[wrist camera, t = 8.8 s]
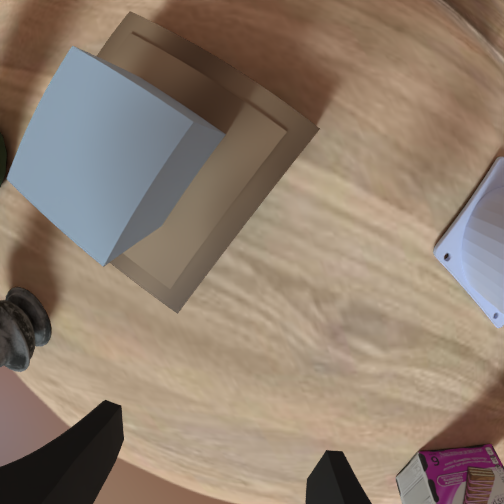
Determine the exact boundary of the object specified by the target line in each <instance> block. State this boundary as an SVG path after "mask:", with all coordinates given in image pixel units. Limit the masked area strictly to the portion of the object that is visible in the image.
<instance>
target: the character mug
mask: <svg viewBox="0 0 504 504" xmlns="http://www.w3.org/2000/svg"><path fill="white" fill-rule="evenodd" d="M6 159H7V152H6V148H5V144H4V139H3V135H2V134H1V132H0V187H1V184H2V181H3V179H4V176H5V174H6Z"/></svg>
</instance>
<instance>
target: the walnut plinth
mask: <svg viewBox="0 0 504 504" xmlns="http://www.w3.org/2000/svg"><path fill="white" fill-rule="evenodd" d="M97 57H99V58H101V59H103V60H105V61H108V62H110V63H112V64H114V65H116V66H118V67H120V68H122V69H124V70H126V71H128V72H130V73H132V74H134V75H136V76H138V77H140V78H142V79H143V80H145V81H147V82H148V83H150V84H151V85H153V86H155V87H156V88H158V89H159V90H161V91H162V92H164V93H165V94H167V95H169V96H170V97H172V98H173V99H175V100H176V101H178V102H179V103H181V104H182V105H184V106H185V107H187V108H188V109H190V110H191V111H193V112H194V113H196V114H197V115H199V116H200V117H201V118H203V119H204V120H206V121H207V122H209V123H210V124H212V125H213V126H214V127H216V128H217V129H219V130H220V131H222V132H223V133H224V134H226V135H225V136H224V138H223V139H222V140H221V142H220V143H219V144H218V146H217V147H216V148H215V150H214V151H213V152H212V154H211V155H210V157H209V158H208V159H207V161H206V162H205V163H204V165H203V166H202V168H201V169H200V170H199V172H198V173H197V175H196V176H195V177H194V179H193V180H192V182H191V183H190V185H189V186H188V188H187V189H186V190H185V192H184V193H183V195H182V196H181V198H180V199H179V201H178V202H177V204H176V205H175V207H174V208H173V210H172V211H171V213H170V214H169V216H168V217H167V219H166V220H165V222H164V223H163V225H162V226H161V227H160V228H158V229H157V230H155V231H154V232H152V233H151V234H149V235H148V236H146V237H145V238H143V239H142V240H140V241H139V242H138V243H136V244H135V245H133V246H132V247H130V248H129V249H127V250H126V251H125V252H123V253H122V254H120V255H119V256H118V257H116V258H115V259H113V260H112V261H111V262H110V263H111V264H112V265H113V266H115V267H116V268H117V269H119V270H120V271H121V272H122V273H124V274H125V275H126V276H127V277H129V278H130V279H131V280H133V281H134V282H135V283H137V284H138V285H139V286H141V287H142V288H143V289H145V290H146V291H147V292H149V293H150V294H151V295H153V296H154V297H155V298H157V299H158V300H159V301H161V302H162V303H163V304H165V305H166V306H168V307H169V308H170V309H172V310H173V311H175V312H176V313H177V314H178V312H179V311H180V310H181V308H182V307H183V306H184V304H185V303H186V302H187V300H188V299H189V298H190V296H191V295H192V294H193V292H194V291H195V290H196V288H197V287H198V286H199V284H200V283H201V282H202V280H203V279H204V278H205V276H206V275H207V274H208V272H209V271H210V270H211V268H212V267H213V266H214V264H215V263H216V262H217V260H218V259H219V258H220V256H221V255H222V254H223V252H224V251H225V250H226V249H227V247H228V246H229V245H230V243H231V242H232V241H233V239H234V238H235V237H236V235H237V234H238V233H239V232H240V230H241V229H242V228H243V226H244V225H245V224H246V222H247V221H248V220H249V218H250V217H251V216H252V215H253V213H254V212H255V211H256V209H257V208H258V207H259V206H260V204H261V203H262V202H263V200H264V199H265V198H266V197H267V195H268V194H269V193H270V191H271V190H272V189H273V188H274V186H275V185H276V184H277V182H278V181H279V180H280V179H281V177H282V176H283V175H284V173H285V172H286V171H287V170H288V168H289V167H290V166H291V165H292V163H293V162H294V161H295V160H296V158H297V157H298V156H299V154H300V153H301V152H302V151H303V149H304V148H305V147H306V146H307V144H308V143H309V142H310V141H311V139H312V138H313V137H314V136H315V134H316V133H317V132H318V131H319V129H320V128H318V127H317V126H316V125H315V124H313V123H312V122H311V121H309V120H308V119H307V118H305V117H304V116H303V115H301V114H300V113H299V112H297V111H296V110H295V109H293V108H292V107H291V106H289V105H288V104H287V103H285V102H284V101H282V100H281V99H280V98H278V97H277V96H275V95H274V94H273V93H271V92H270V91H268V90H267V89H265V88H264V87H262V86H261V85H259V84H258V83H257V82H255V81H254V80H252V79H251V78H249V77H247V76H246V75H244V74H243V73H241V72H240V71H238V70H237V69H235V68H233V67H232V66H230V65H229V64H227V63H225V62H224V61H222V60H221V59H219V58H217V57H216V56H214V55H212V54H211V53H209V52H207V51H205V50H204V49H202V48H200V47H199V46H197V45H195V44H193V43H191V42H190V41H188V40H186V39H184V38H182V37H181V36H179V35H177V34H175V33H173V32H171V31H169V30H167V29H165V28H163V27H162V26H160V25H158V24H156V23H154V22H152V21H150V20H147V19H145V18H143V17H141V16H139V15H137V14H135V13H133V12H129V13H128V14H127V16H126V17H125V18H124V19H123V21H122V22H121V23H120V24H119V26H118V27H117V28H116V30H115V31H114V32H113V34H112V35H111V36H110V38H109V39H108V41H107V42H106V43H105V45H104V46H103V48H102V49H101V51H100V52H99V53H98V55H97Z"/></svg>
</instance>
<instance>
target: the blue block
mask: <svg viewBox="0 0 504 504" xmlns="http://www.w3.org/2000/svg"><path fill="white" fill-rule="evenodd" d="M225 135H226V134H224V133H223V132H222V131H220V130H219V129H217V128H216V127H214V126H213V125H212V124H210V123H209V122H207V121H206V120H204V119H203V118H201V117H200V116H199V115H197V114H196V113H194V112H193V111H191V110H190V109H188V108H187V107H185V106H184V105H182V104H181V103H179V102H178V101H176V100H175V99H173V98H172V97H170V96H169V95H167V94H165V93H164V92H162V91H161V90H159V89H158V88H156V87H155V86H153V85H151V84H150V83H148V82H147V81H145V80H143V79H142V78H140V77H138V76H136V75H134V74H132V73H130V72H128V71H126V70H124V69H122V68H120V67H118V66H116V65H114V64H112V63H110V62H108V61H105V60H103V59H101V58H99V57H97V56H94V55H92V54H90V53H88V52H86V51H83V50H81V49H79V48H76V47H74V46H72V47H71V49H70V50H69V52H68V53H67V55H66V57H65V58H64V60H63V61H62V63H61V65H60V66H59V68H58V70H57V71H56V73H55V75H54V77H53V78H52V80H51V82H50V84H49V85H48V87H47V89H46V91H45V93H44V95H43V97H42V99H41V100H40V102H39V104H38V106H37V108H36V110H35V112H34V114H33V116H32V119H31V121H30V123H29V125H28V127H27V129H26V132H25V134H24V136H23V138H22V141H21V143H20V145H19V148H18V150H17V153H16V155H15V158H14V160H13V163H12V166H11V168H10V171H9V174H8V177H7V180H8V181H9V182H10V183H11V184H12V185H13V186H14V187H15V188H16V189H17V190H18V191H19V192H20V193H21V194H22V195H23V196H24V197H25V198H26V199H27V200H28V201H30V202H31V203H32V204H33V205H34V206H35V207H36V208H37V209H38V210H39V211H40V212H41V213H42V214H43V215H44V216H45V217H47V218H48V219H49V220H50V221H51V222H52V223H53V224H54V225H55V226H56V227H58V228H59V229H60V230H61V231H62V232H63V233H64V234H65V235H67V236H68V237H69V238H70V239H71V240H72V241H73V242H75V243H76V244H77V245H78V246H79V247H80V248H82V249H83V250H84V251H85V252H86V253H88V254H89V255H90V256H91V257H92V258H94V259H95V260H96V261H97V262H98V263H100V264H101V265H102V266H103V267H104V266H105V265H106V264H108V263H109V262H111V261H112V260H113V259H115V258H116V257H118V256H119V255H120V254H122V253H123V252H125V251H126V250H127V249H129V248H130V247H132V246H133V245H135V244H136V243H138V242H139V241H140V240H142V239H143V238H145V237H146V236H148V235H149V234H151V233H152V232H154V231H155V230H157V229H158V228H160V227H161V226H162V225H163V223H164V222H165V220H166V219H167V217H168V216H169V214H170V213H171V211H172V210H173V208H174V207H175V205H176V204H177V202H178V201H179V199H180V198H181V196H182V195H183V193H184V192H185V190H186V189H187V188H188V186H189V185H190V183H191V182H192V180H193V179H194V177H195V176H196V175H197V173H198V172H199V170H200V169H201V168H202V166H203V165H204V163H205V162H206V161H207V159H208V158H209V157H210V155H211V154H212V152H213V151H214V150H215V148H216V147H217V146H218V144H219V143H220V142H221V140H222V139H223V138H224V136H225Z"/></svg>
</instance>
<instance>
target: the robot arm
mask: <svg viewBox="0 0 504 504" xmlns="http://www.w3.org/2000/svg"><path fill="white" fill-rule="evenodd" d="M433 252H434V256H435V257H436V258H437V259H438V260H439V261H440V262H441V264H442V265H443V266H444V267H445V268H446V269H447V270H448V271H449V272H450V273H451V274H452V276H453V277H454V278H455V279H456V280H457V281H458V282H459V283H460V284H461V286H462V287H463V288H464V289H465V290H466V291H467V293H468V294H469V295H470V296H471V297H472V298H473V300H474V301H475V302H476V303H477V304H478V306H479V307H480V308H481V309H482V310H483V312H484V313H485V314H486V315H487V317H488V318H489V319H490V320H491V322H492V323H493V324H494V325H495V326H496V327H497V328H500V327H502V326H503V325H504V157H498V158H497V159H496V160H495V162H494V163H493V165H492V167H491V168H490V170H489V171H488V173H487V174H486V176H485V178H484V179H483V181H482V182H481V184H480V185H479V187H478V188H477V190H476V191H475V193H474V194H473V195H472V197H471V198H470V200H469V201H468V203H467V204H466V205H465V207H464V208H463V210H462V211H461V212H460V214H459V215H458V217H457V218H456V219H455V221H454V222H453V223H452V225H451V226H450V227H449V229H448V230H447V231H446V233H445V234H444V235H443V237H442V238H441V239H440V240H439V242H438V243H437V244H436V246H435V247H434V251H433ZM446 253H448V257H447V258H446V259H444V256H445V254H446ZM495 313H496V314H495ZM494 314H495V315H494ZM123 440H124V434H123V422H122V408H121V405H118V404H115V403H112V402H110V401H107V400H105V401H103V402H102V403H100V404H99V405H98V406H97V407H96V408H95V409H93V410H92V411H91V412H90V413H89V414H88V415H86V416H85V417H84V418H83V419H81V420H80V421H79V422H78V423H76V424H75V425H74V426H72V427H71V428H70V429H69V430H67V431H66V432H64V433H63V434H61V435H60V436H59V437H57V438H56V439H54V440H52V441H51V442H49V443H48V444H46V445H45V446H43V447H41V448H40V449H38V450H36V451H34V452H33V453H31V454H29V455H27V456H25V457H23V458H21V459H19V460H16V461H14V462H12V463H9V464H7V465H4V466H1V467H0V504H93V503H94V501H95V499H96V497H97V495H98V493H99V491H100V490H101V488H102V486H103V484H104V482H105V480H106V479H107V477H108V475H109V473H110V471H111V469H112V467H113V465H114V463H115V461H116V459H117V456H118V454H119V451H120V449H121V446H122V443H123ZM306 504H372V503H371V502H370V500H369V498H368V497H367V495H366V493H365V492H364V490H363V488H362V487H361V485H360V483H359V481H358V480H357V478H356V476H355V474H354V472H353V470H352V468H351V466H350V465H349V463H348V461H347V459H346V457H345V455H344V453H343V452H342V451H329V450H326V452H325V453H324V455H323V456H322V458H321V459H320V461H319V462H318V464H317V465H316V467H315V468H314V470H313V471H312V473H311V474H310V475H309V477H308V478H307V487H306Z"/></svg>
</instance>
